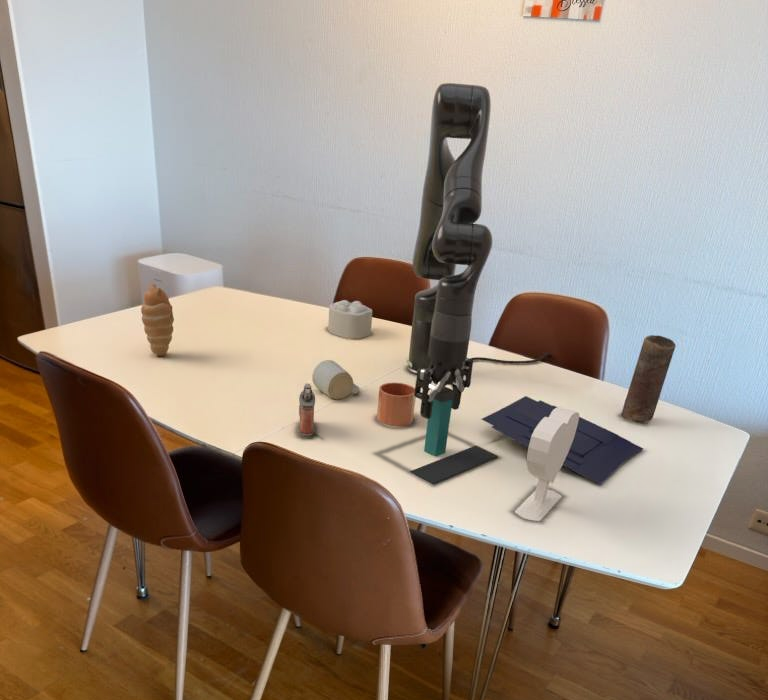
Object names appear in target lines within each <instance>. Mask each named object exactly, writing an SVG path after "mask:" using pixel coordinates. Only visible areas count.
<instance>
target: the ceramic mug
mask: <svg viewBox="0 0 768 700" xmlns="http://www.w3.org/2000/svg"><path fill="white" fill-rule="evenodd" d="M311 376H312V377H311V379H312V383H313V386H314V387H315V388H316V389H318V390H319V391H320V392H322V393H323V394H325V395H326V396H327V397H329V398H331V399H333V400H337V401H338V400H343V399H346V398H347V397H348V396H349V395H350V394H354V395H357V394H358V393H359V392H360V386H358V385H357V384H355V383H354V380H353V379H354V378H353V377H352V375H351V374H350V373H349V372H348V371H347V370H346V369H344V367H342V366H341V365H340V364H339V363H337V362H336V361H334V360H333V359H325V360H322V361H320V362H319V363H318V364H316V366H315V368H314V369H313V372H312V375H311Z"/></svg>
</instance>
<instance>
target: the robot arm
mask: <svg viewBox="0 0 768 700" xmlns="http://www.w3.org/2000/svg"><path fill="white" fill-rule="evenodd" d="M433 96H434V97H433V100H432V107H431V117H430V131H429V134H430V135H429V148H428V157H427V164H426V171H425V177H424V182H423V188H422V196H421V197H422V198H421V206H420V216H419V217H420V218H419V226H418V229H417V230H418V231H417V235H416V240H415V245H414V249H413V254H412V272H413V274H414V276H415V277H417V278H419V279H422V280H432V281H438V283H437V284H436V285H435V286H433V287H431V288H427V289H424V290H420V291H418V292H417V293H415V296H414V302H413V312H412V323H411V331H410V340H409V341H410V342H409V350H408V351H409V352H408V358H407V359H406V364H407V365H406V368H407V370H408V372H410V373H412V374H415V375H416V379H415V385H414V386H415V387H414V388H415V392H414V396H415V397H416V399H419V400H420V402H421V403H420V410H419V414H420V416H421V417H422V418H424V419H426V420H428V419H429V418H431V414H432V406H433V399H434V397H435V395H436V394H437V393H439V392H440V391H441V389H442V387H447V386H450V388H451V389H452V390H454V394H453V399H452V400H453V401H452V408H451V410H454V411H456V410H459V409H460V404H461V400H462V393H463V392H464V391H465V389H466V388H470V387H471V383H472V374H473V367H474V366H473V365H474V361H489V362H493V363H500V364H501V363H502V364H510V365H511V364H515V365H516V364H532V363H533V364H534V363H538V362H540V361H542V360H543V359H544V358H546V357H547V356H548V357H549V358H553V355H552V354H551V353H550V352H546V353H544V354H542V355H541V356H540V357H539V358H537V359H530V360H505V359H504V360H503V359H496V358H490V357H482V356H481V357H480V356H477V357H470V358H468V352H469V345H470V338H471V331H472V321H473V319H472V317H473V315H472V314H473V309H474V308H473V307H474V301H475V295H476V290H477V286H478V282H479V280H480V277H481V274H482V272H483V270H484V267H485V266H486V263H487V261H488V259H489V256H490V254H491V251H492V248H493V236H492V232H491V229H489V227H488V226H487V225H485V224H482V223H481V224H479V223H476V222H477V221H478V220H479V219H480V217H481V216H482V215H481V214H482V208H483V171H484V165H485V159H486V154H487V153H486V152H487V147H488V137H489V130H490V122H491V121H490V120H491V110H492V109H491V106H492V105H491V104H492V103H491V102H492V101H491V94H490V91H489V89H488V88H487V87H485V86H482V85H478V84H477V85H476V84H468V83H467V84H466V83H455V82H453V83H451V82H445V83H440V85H438V86H437V88H436V90H435V93H434V95H433ZM448 139H458V140H459V139H461V140H470V141H469V143H468V145H467V146H466V147H465V149H464V150H463V151H462V152H461V154H459V156H457V158H455V156H454V155H453V154H452V152H451V149H450V146H449V144H448V143H449V142H448ZM457 265H458V266H459V265H460V266H466V268H465V269H464V270H463V271H462V272H461V273H458V274H456V270H457ZM464 377H465V378H464ZM432 383H433V384H434V385H433V384H432Z"/></svg>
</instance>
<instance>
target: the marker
mask: <svg viewBox="0 0 768 700" xmlns="http://www.w3.org/2000/svg"><path fill="white" fill-rule="evenodd" d="M453 394H454V390H453V389H452V388H451V387H450V388H449V387H447V386H445V387H442V389H441V391H440V392H439V393H437V394H436V395H435V397H434V399H433V406H432V414H431V418H429V419H427V422H426V423H427V425H426V433H425V441H424V449H423V452H425V453H427V454H429V455H431V456H432V457H435V458H436V457H439V456H441V455H443V454H446V450H447V442H448V436H449V429H450V424H451V423H450V422H451V415H452V401H453V400H452V399H453Z"/></svg>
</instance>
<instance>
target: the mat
mask: <svg viewBox="0 0 768 700" xmlns="http://www.w3.org/2000/svg"><path fill="white" fill-rule="evenodd" d="M498 457H499V455H497V454H495V453H493V452H491V451H489V450H486V449H484V448H483V447H480V446H479V445H473V446H471V447H469V448H466V449H463V450H460V451H458V452H455V453H453V454H450V455H447V456H445V457H443V458H440V459H437V460H435V461H433V462H430V463H428V464H425V465H422V466H420V467H418V468H415V469H411V470H409V473H412V474H413V475H415V476H417V477H419V478H421V479H423V480H425V481H426V482H428V483H430V484H432V485H436V484H438V483H441V482H444V481H446V480H448V479H450V478H453V477H455V476H457V475H460V474H462V473H464V472H466V471H467V472H468V471H470V470H471V469H474V468H477V467H479V466H481V465H483V464H486V463H488V462H490V461H493V460H495V459H497V458H498Z"/></svg>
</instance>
